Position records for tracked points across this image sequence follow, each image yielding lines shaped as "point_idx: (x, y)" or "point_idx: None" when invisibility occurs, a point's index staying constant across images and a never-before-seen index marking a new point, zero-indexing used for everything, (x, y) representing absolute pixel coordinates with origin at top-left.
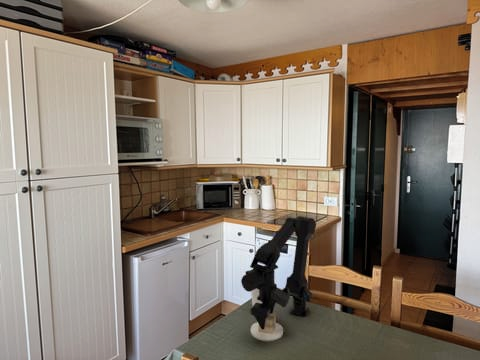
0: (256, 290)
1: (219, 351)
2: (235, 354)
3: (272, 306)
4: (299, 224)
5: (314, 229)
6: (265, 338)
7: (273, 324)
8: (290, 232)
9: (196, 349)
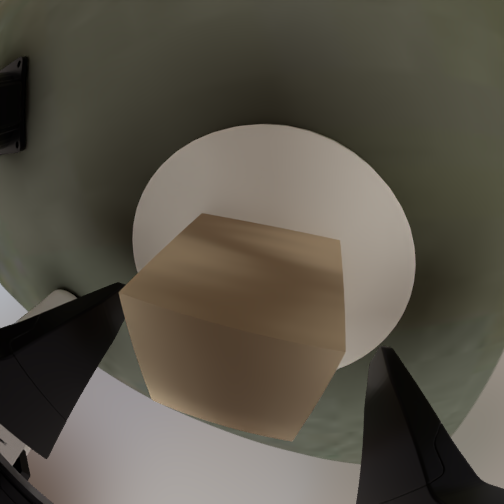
0: None
1: (445, 421)
2: (483, 381)
3: (43, 354)
4: None
5: None
6: (411, 286)
7: (253, 260)
8: None
9: None
